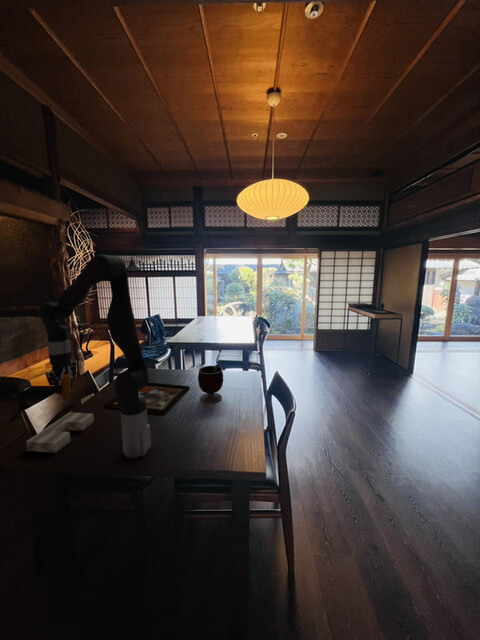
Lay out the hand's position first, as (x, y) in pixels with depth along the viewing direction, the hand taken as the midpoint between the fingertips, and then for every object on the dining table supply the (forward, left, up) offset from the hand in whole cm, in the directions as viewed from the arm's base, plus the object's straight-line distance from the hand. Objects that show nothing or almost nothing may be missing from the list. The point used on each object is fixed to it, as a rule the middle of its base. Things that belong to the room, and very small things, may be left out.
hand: (64, 390), depth 106 cm
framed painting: (-18, -38, -21) cm, 47 cm away
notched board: (+3, 0, -20) cm, 21 cm away
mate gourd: (-53, -41, -21) cm, 70 cm away
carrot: (0, 0, -4) cm, 4 cm away
